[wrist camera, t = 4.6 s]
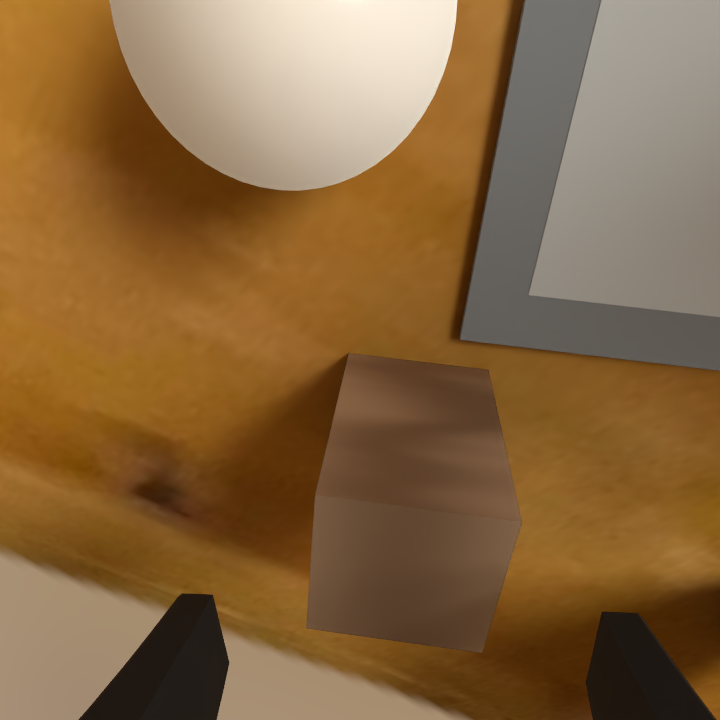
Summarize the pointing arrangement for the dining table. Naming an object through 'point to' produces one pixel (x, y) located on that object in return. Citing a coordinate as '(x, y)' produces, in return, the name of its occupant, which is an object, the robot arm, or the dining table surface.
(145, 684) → the robot arm
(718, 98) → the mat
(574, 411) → the dining table surface
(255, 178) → the cream rounded capsule
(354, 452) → the walnut block
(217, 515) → the dining table surface
